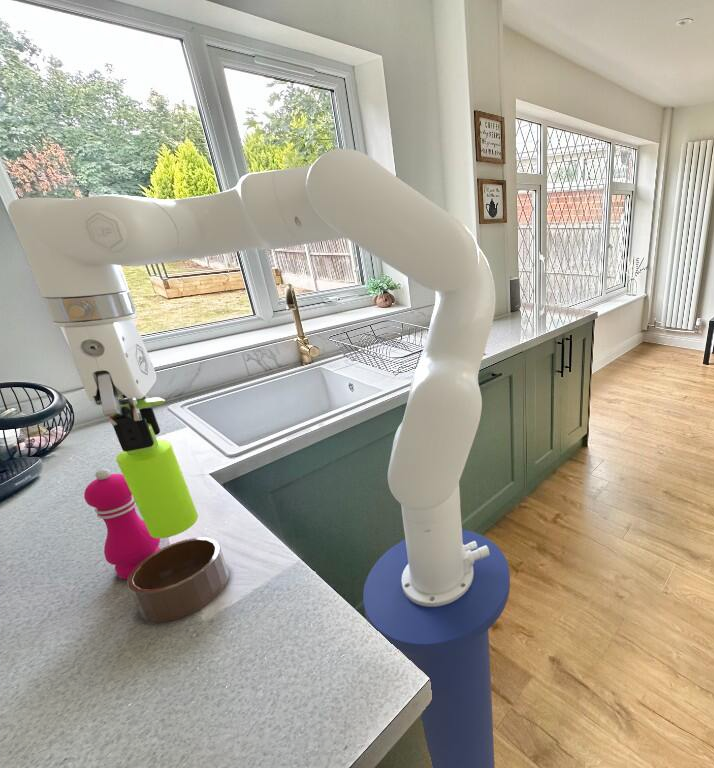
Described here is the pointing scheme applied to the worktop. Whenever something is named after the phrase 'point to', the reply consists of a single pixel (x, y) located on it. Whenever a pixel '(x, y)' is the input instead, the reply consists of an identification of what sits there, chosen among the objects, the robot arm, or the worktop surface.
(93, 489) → the pepper mill
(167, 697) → the worktop surface
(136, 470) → the soap dispenser
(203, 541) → the bowl
